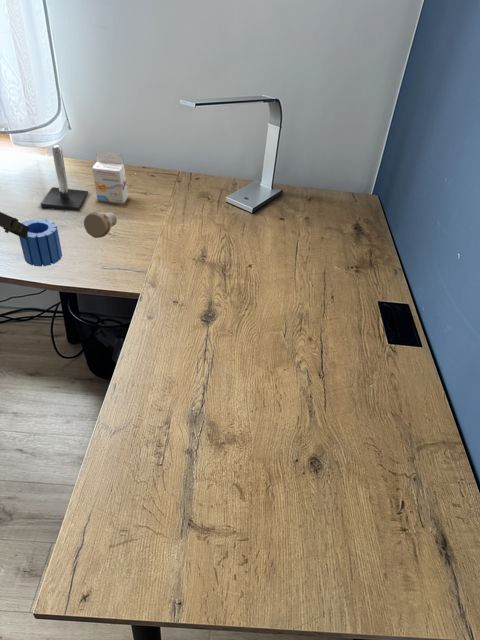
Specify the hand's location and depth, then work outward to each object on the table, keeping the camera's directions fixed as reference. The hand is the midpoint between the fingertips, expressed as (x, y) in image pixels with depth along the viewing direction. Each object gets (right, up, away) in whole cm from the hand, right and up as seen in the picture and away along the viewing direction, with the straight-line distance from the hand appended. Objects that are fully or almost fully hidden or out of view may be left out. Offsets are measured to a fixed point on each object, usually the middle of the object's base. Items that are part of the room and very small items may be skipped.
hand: (0, 224), depth 113 cm
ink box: (+12, +19, +45) cm, 51 cm away
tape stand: (-2, +18, +42) cm, 46 cm away
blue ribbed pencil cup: (+2, -5, +18) cm, 19 cm away
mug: (+13, +6, +32) cm, 35 cm away
